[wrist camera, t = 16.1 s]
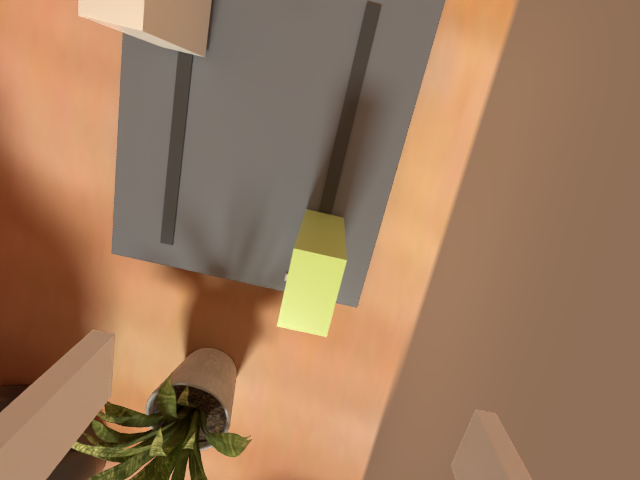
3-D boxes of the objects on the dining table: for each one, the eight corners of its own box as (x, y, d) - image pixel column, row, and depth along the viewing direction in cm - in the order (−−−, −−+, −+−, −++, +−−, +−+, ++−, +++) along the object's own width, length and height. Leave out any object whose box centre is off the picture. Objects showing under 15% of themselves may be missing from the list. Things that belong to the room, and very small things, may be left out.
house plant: (265, 281, 34) (207, 420, 19) (311, 403, 38) (294, 600, 23) (123, 319, 36) (-36, 473, 21) (181, 431, 40) (84, 631, 25)
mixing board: (124, 245, 34) (110, 254, 32) (144, -78, 26) (127, -94, 24) (355, 296, 34) (357, 308, 32) (440, -4, 27) (449, -14, 25)
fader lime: (293, 267, 31) (276, 326, 23) (305, 209, 29) (293, 248, 21) (329, 275, 31) (326, 337, 23) (343, 217, 30) (347, 260, 21)
